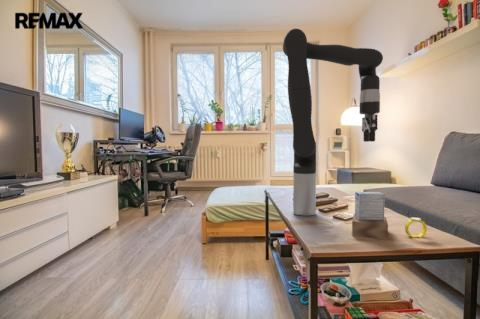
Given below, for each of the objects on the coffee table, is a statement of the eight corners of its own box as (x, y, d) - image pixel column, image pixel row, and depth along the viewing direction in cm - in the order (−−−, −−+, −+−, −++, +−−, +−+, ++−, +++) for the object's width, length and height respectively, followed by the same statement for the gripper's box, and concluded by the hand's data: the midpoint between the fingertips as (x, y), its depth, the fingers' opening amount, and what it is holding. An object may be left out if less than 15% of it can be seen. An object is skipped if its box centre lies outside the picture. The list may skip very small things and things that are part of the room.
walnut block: (352, 236, 87) (352, 221, 86) (353, 228, 96) (353, 214, 96) (387, 241, 83) (387, 224, 82) (385, 231, 92) (385, 216, 91)
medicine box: (379, 217, 91) (379, 191, 90) (384, 221, 86) (385, 194, 86) (354, 217, 92) (354, 191, 91) (358, 220, 87) (359, 193, 87)
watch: (408, 239, 84) (408, 220, 83) (403, 236, 86) (402, 217, 86) (428, 237, 83) (427, 218, 83) (422, 234, 86) (422, 216, 86)
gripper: (356, 104, 119) (355, 141, 120) (364, 99, 105) (363, 141, 106) (374, 104, 117) (374, 141, 118) (385, 98, 103) (384, 141, 104)
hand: (369, 141), depth 112 cm, fingers open, 8 cm apart
